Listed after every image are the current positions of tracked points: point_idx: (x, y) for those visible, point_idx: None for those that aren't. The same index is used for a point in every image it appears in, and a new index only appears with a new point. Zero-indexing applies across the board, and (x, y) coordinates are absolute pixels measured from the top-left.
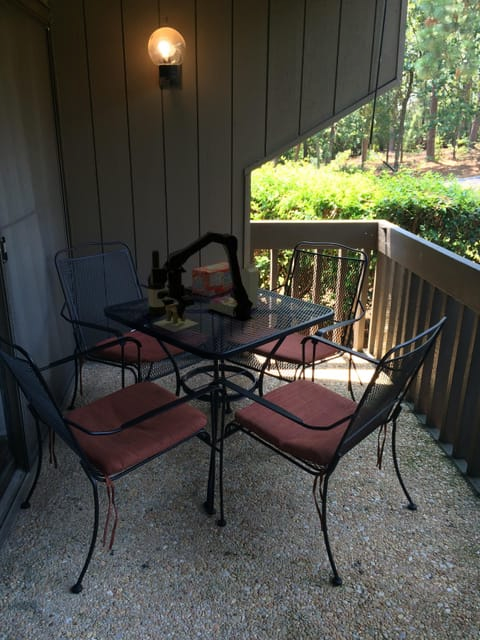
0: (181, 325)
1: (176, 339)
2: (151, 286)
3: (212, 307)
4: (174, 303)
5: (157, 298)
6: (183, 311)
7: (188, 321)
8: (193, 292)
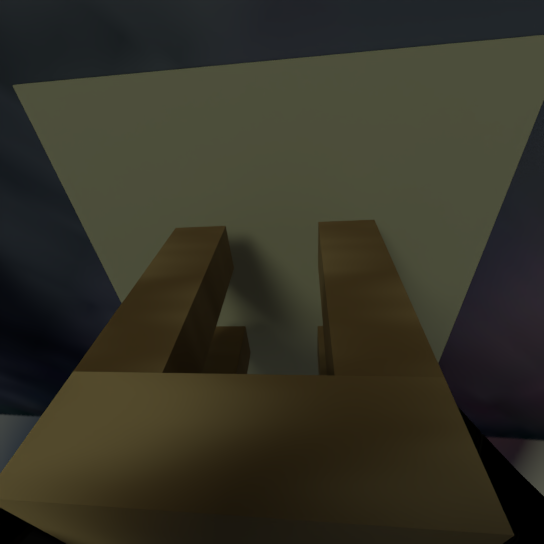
0: None
1: (527, 427)
2: None
3: None
4: (50, 529)
5: None
6: (481, 448)
7: (347, 123)
8: None
